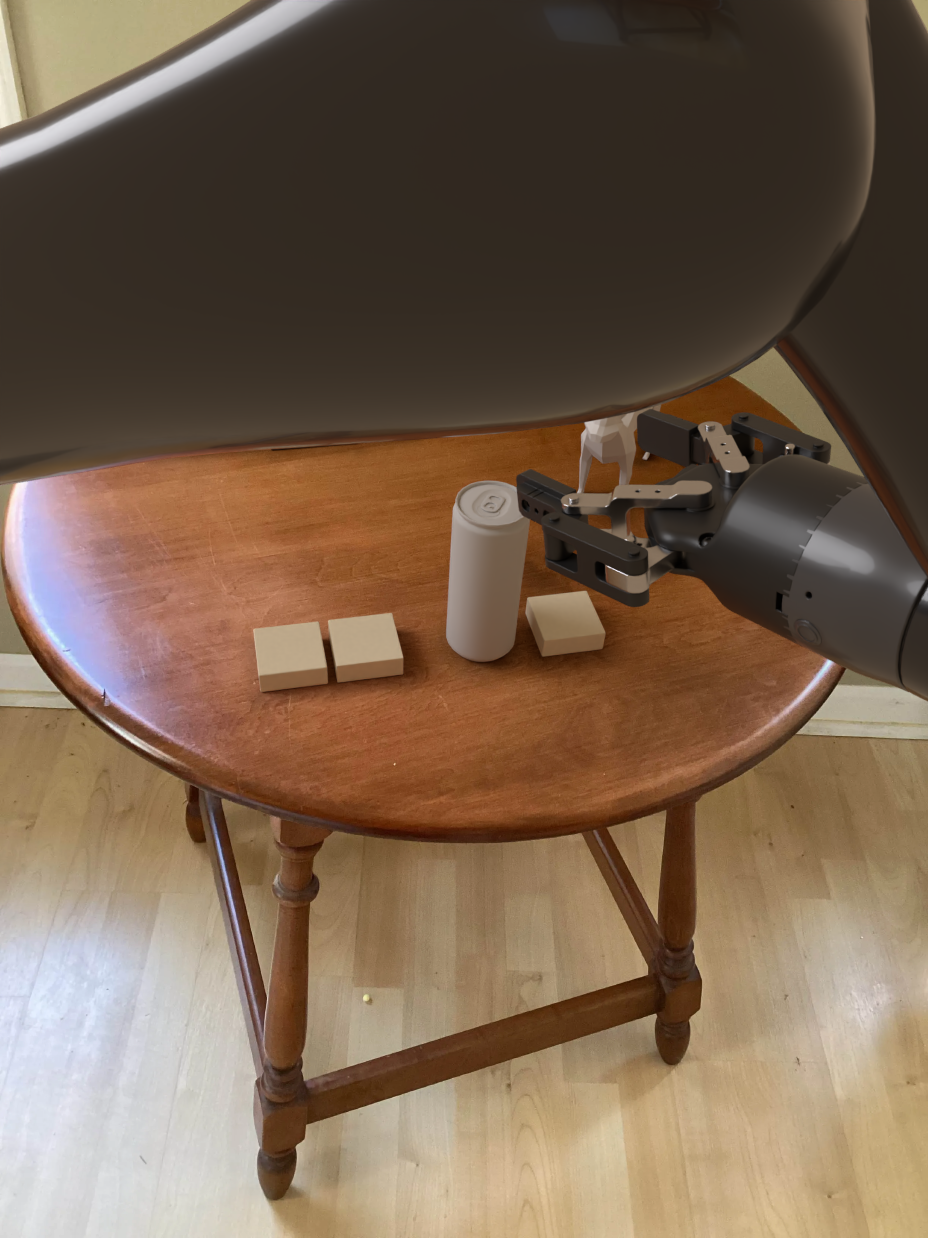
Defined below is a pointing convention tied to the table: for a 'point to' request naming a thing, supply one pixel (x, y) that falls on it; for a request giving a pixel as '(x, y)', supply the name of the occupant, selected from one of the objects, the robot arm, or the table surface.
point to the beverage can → (485, 570)
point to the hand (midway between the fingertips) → (583, 457)
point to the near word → (376, 648)
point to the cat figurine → (610, 445)
